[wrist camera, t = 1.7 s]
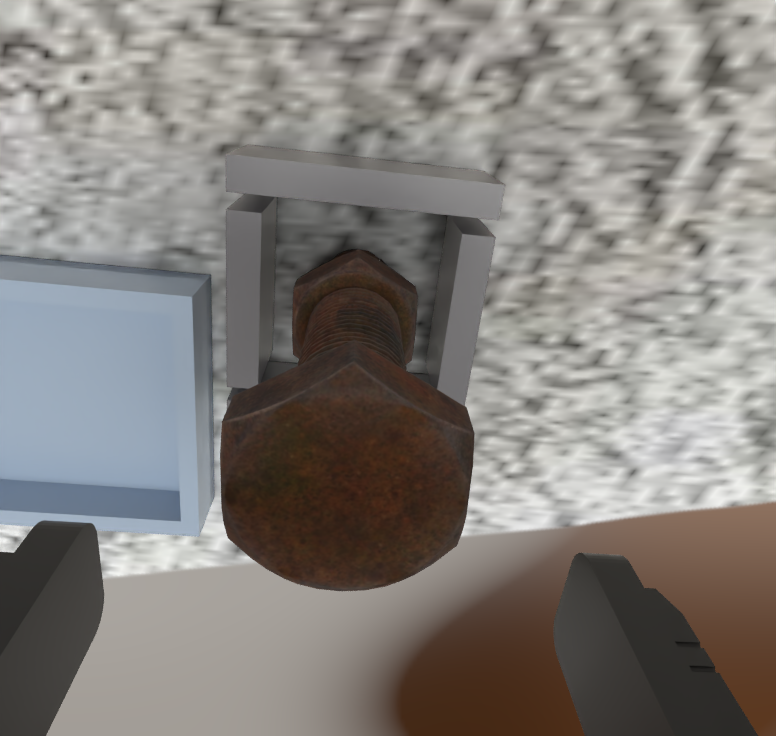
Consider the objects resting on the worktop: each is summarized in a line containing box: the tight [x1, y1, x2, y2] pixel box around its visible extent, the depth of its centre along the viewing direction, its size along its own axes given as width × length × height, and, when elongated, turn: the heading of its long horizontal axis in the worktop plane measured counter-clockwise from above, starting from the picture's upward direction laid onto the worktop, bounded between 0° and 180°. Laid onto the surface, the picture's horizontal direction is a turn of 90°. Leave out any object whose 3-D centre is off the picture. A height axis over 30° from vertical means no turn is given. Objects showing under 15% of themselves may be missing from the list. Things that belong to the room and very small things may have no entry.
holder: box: [226, 145, 505, 409], centre depth 24 cm, size 9×10×4 cm
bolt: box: [220, 249, 474, 591], centre depth 19 cm, size 6×5×15 cm
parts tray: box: [0, 255, 214, 536], centre depth 26 cm, size 14×12×3 cm
